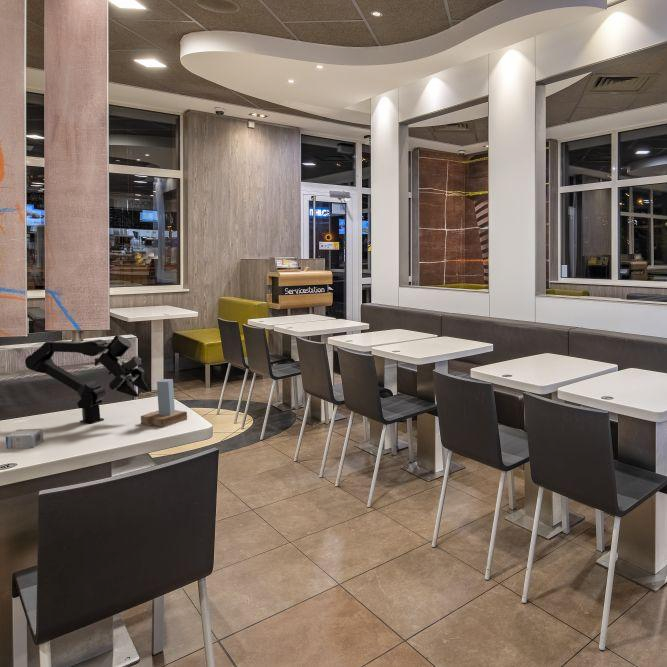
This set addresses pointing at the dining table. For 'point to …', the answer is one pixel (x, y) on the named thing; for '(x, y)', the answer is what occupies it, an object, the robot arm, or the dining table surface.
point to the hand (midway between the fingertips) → (143, 393)
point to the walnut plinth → (163, 418)
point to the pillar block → (165, 396)
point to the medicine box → (24, 438)
